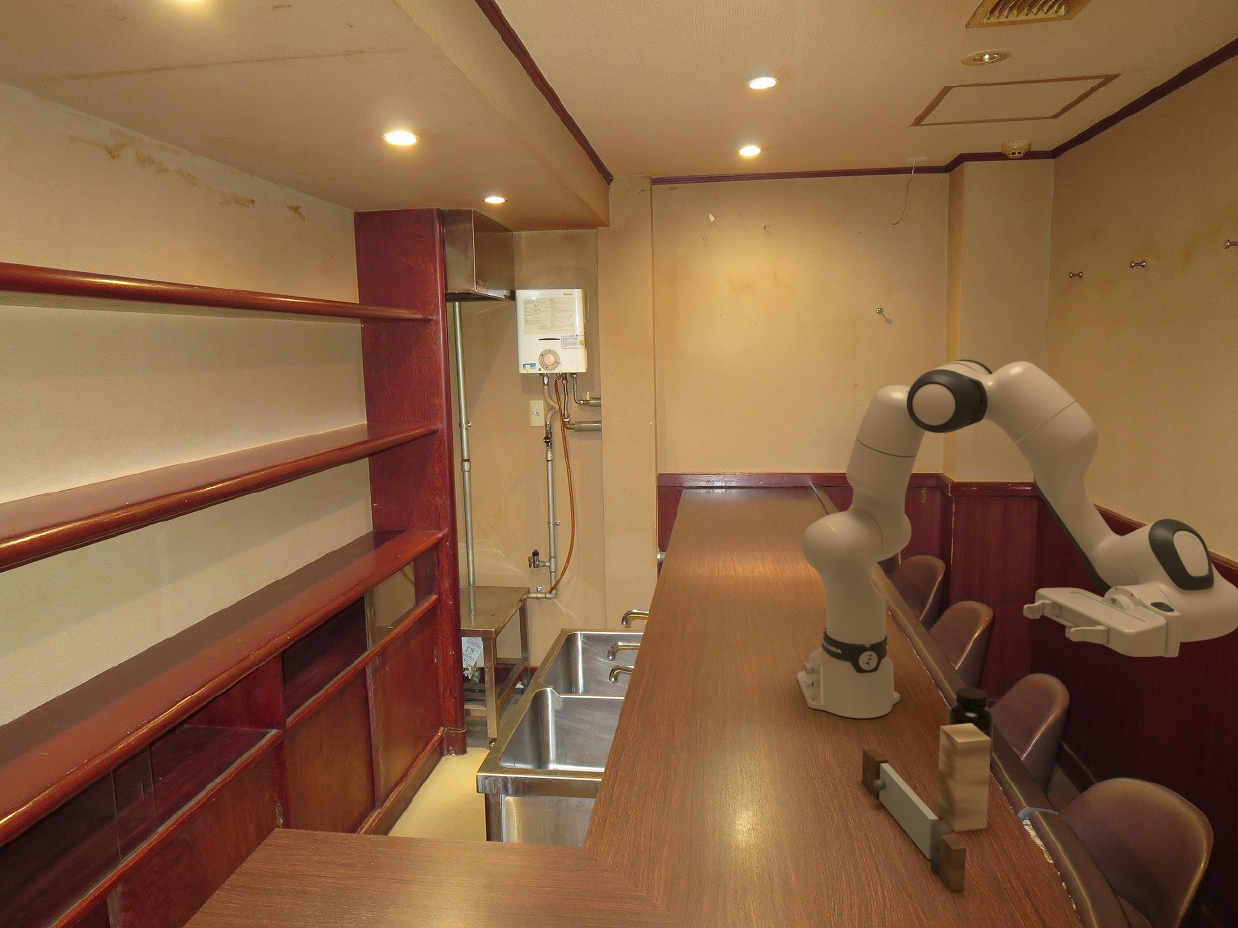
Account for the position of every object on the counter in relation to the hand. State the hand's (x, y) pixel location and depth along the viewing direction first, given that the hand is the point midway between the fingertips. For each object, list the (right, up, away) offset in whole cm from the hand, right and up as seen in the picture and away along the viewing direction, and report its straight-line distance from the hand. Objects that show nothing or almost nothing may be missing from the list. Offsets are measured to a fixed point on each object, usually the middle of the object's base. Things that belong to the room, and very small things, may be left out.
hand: (1046, 622), depth 119 cm
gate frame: (-20, -31, +1) cm, 37 cm away
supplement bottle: (-3, -27, +20) cm, 34 cm away
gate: (-21, -30, +1) cm, 37 cm away
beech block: (-11, -30, +3) cm, 32 cm away
